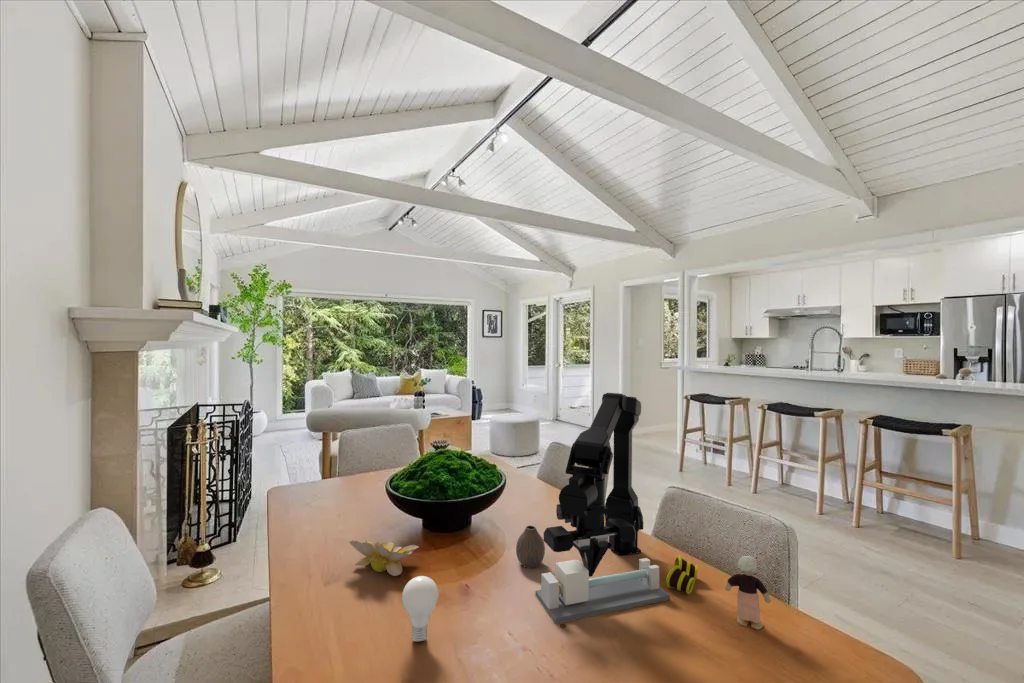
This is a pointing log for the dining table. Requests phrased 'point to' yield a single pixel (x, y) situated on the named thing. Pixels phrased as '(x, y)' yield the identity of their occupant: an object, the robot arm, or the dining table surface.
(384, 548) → the decorative flower
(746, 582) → the grandmother figurine
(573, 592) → the white square tube
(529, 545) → the vase
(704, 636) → the dining table surface
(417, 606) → the lightbulb
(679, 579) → the opera glasses
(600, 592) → the linear slide rail
